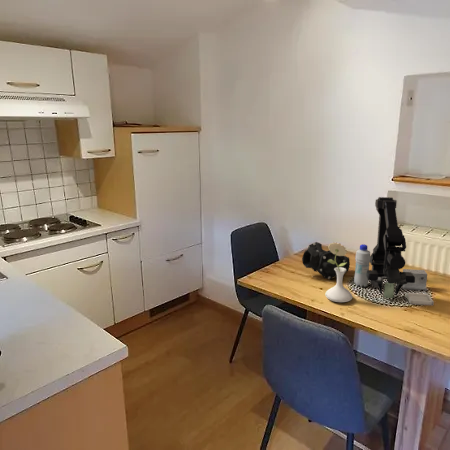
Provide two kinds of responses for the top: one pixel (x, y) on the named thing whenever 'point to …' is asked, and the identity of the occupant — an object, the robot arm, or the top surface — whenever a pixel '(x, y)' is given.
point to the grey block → (376, 283)
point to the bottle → (362, 266)
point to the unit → (416, 280)
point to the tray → (419, 299)
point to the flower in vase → (338, 276)
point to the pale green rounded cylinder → (388, 290)
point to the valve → (323, 260)
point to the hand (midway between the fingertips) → (388, 294)
